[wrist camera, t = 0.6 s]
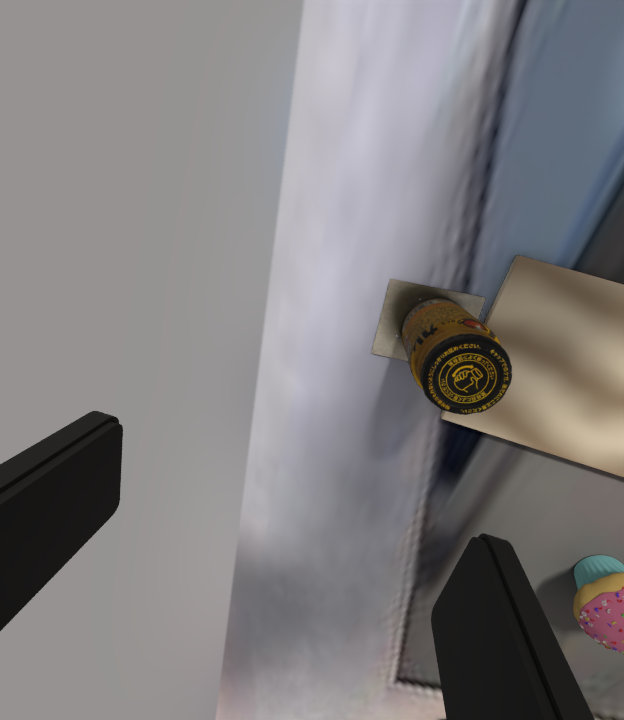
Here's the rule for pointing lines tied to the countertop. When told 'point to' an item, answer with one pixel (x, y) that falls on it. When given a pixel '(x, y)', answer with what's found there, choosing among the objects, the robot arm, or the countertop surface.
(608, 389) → the cutting board
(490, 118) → the countertop surface
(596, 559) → the cupcake
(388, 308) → the condiment
